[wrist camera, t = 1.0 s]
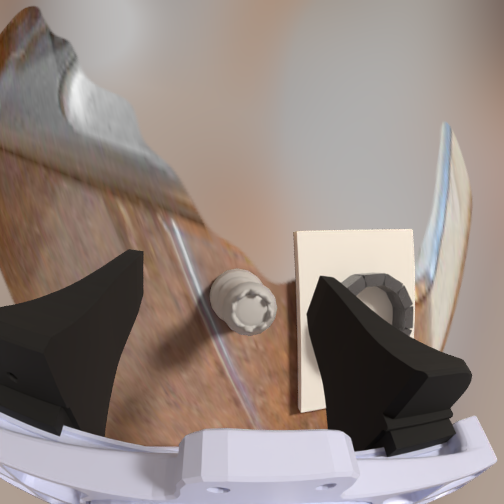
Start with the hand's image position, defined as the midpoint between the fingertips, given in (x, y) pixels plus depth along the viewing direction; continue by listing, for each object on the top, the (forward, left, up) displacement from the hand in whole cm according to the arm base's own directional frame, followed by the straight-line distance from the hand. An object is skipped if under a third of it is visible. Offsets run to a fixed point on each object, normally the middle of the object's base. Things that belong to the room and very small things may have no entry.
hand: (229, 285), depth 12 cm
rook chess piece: (-2, -2, -13) cm, 13 cm away
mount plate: (-5, -13, -13) cm, 19 cm away
